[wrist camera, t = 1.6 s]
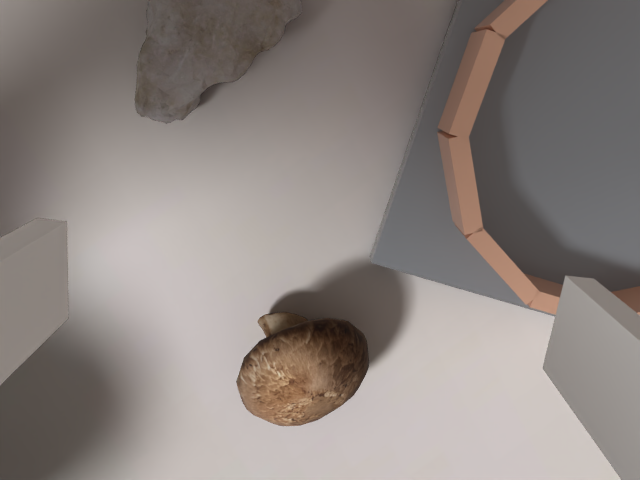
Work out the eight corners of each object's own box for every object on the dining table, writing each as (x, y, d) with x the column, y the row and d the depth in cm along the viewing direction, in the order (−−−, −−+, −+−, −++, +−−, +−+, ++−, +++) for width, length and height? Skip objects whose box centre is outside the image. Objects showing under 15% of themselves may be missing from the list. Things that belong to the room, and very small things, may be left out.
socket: (369, 256, 35) (375, 280, 31) (507, -144, 29) (537, -178, 25) (699, 352, 37) (746, 388, 33) (895, -6, 31) (981, -17, 27)
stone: (246, 147, 33) (230, 163, 28) (113, 85, 33) (69, 89, 27) (318, -22, 31) (317, -41, 25) (176, -94, 30) (142, -131, 24)
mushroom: (216, 298, 33) (252, 391, 29) (345, 262, 35) (394, 342, 31) (224, 375, 38) (255, 462, 34) (334, 339, 41) (375, 416, 37)
